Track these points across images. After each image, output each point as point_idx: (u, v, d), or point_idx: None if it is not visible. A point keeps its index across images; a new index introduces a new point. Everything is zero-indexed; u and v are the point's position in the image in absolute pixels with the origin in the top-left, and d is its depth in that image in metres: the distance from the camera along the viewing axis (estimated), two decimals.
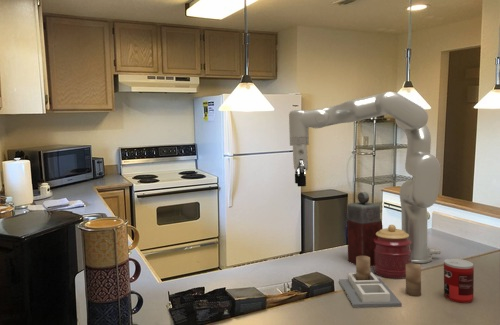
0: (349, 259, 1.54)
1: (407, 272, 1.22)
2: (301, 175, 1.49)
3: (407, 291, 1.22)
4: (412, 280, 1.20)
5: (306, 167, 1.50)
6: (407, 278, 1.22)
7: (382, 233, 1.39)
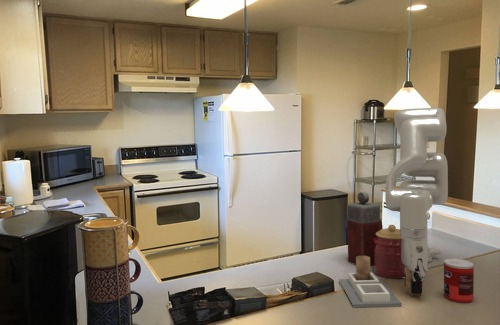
0: (349, 259, 1.54)
1: (407, 272, 1.22)
2: (417, 280, 1.18)
3: (407, 291, 1.22)
4: None
5: (426, 268, 1.17)
6: (407, 278, 1.22)
7: (382, 233, 1.39)
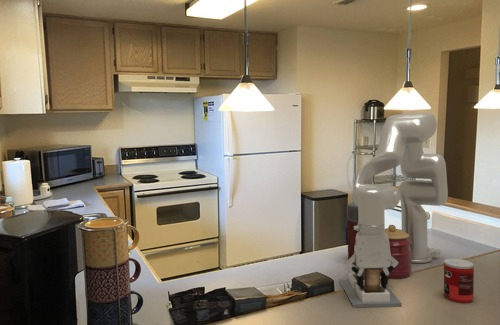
0: None
1: None
2: (356, 273, 1.19)
3: None
4: None
5: (357, 263, 1.16)
6: None
7: None
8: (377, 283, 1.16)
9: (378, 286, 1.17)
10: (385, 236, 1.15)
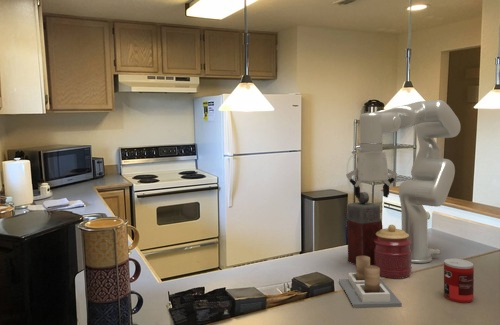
0: (349, 259, 1.54)
1: None
2: None
3: None
4: None
5: (358, 177, 1.35)
6: None
7: (382, 233, 1.39)
8: (377, 283, 1.16)
9: (378, 286, 1.17)
10: (383, 153, 1.33)
